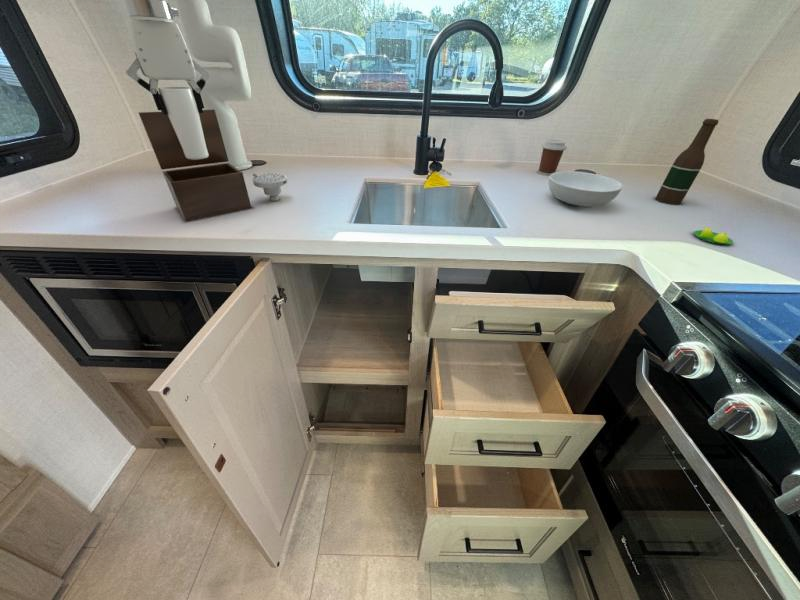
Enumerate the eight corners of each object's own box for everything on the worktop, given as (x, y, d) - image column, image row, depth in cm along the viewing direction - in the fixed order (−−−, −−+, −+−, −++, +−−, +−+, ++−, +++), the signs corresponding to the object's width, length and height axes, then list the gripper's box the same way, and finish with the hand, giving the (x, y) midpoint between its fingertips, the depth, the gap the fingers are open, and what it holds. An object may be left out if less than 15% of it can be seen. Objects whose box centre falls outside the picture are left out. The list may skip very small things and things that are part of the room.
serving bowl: (529, 194, 106) (535, 173, 102) (574, 188, 113) (582, 168, 109) (579, 217, 91) (588, 193, 87) (628, 208, 98) (638, 186, 94)
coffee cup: (562, 174, 129) (573, 142, 122) (549, 177, 125) (559, 144, 118) (543, 169, 135) (552, 138, 128) (530, 171, 131) (538, 139, 124)
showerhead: (261, 169, 96) (291, 172, 94) (266, 193, 100) (295, 196, 99) (243, 177, 88) (275, 180, 87) (249, 203, 93) (280, 206, 91)
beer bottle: (673, 206, 101) (721, 121, 87) (649, 198, 107) (690, 117, 93) (686, 203, 104) (734, 120, 90) (662, 195, 110) (703, 117, 96)
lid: (214, 109, 83) (209, 106, 86) (138, 112, 74) (135, 109, 77) (228, 161, 91) (223, 157, 94) (161, 169, 82) (158, 164, 85)
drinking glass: (218, 157, 82) (198, 88, 73) (195, 162, 77) (170, 89, 68) (200, 153, 84) (178, 86, 75) (176, 158, 79) (150, 87, 70)
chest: (251, 208, 90) (242, 172, 84) (186, 221, 81) (170, 182, 75) (238, 196, 97) (228, 162, 91) (176, 207, 88) (162, 171, 82)
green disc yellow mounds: (698, 242, 80) (705, 232, 78) (688, 230, 86) (694, 220, 84) (737, 248, 78) (745, 238, 76) (723, 235, 84) (730, 225, 82)
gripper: (192, 18, 71) (217, 109, 82) (94, 9, 62) (137, 113, 73) (200, 16, 67) (226, 113, 77) (96, 5, 58) (141, 117, 68)
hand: (182, 112), depth 75 cm, fingers closed on drinking glass, 6 cm apart
